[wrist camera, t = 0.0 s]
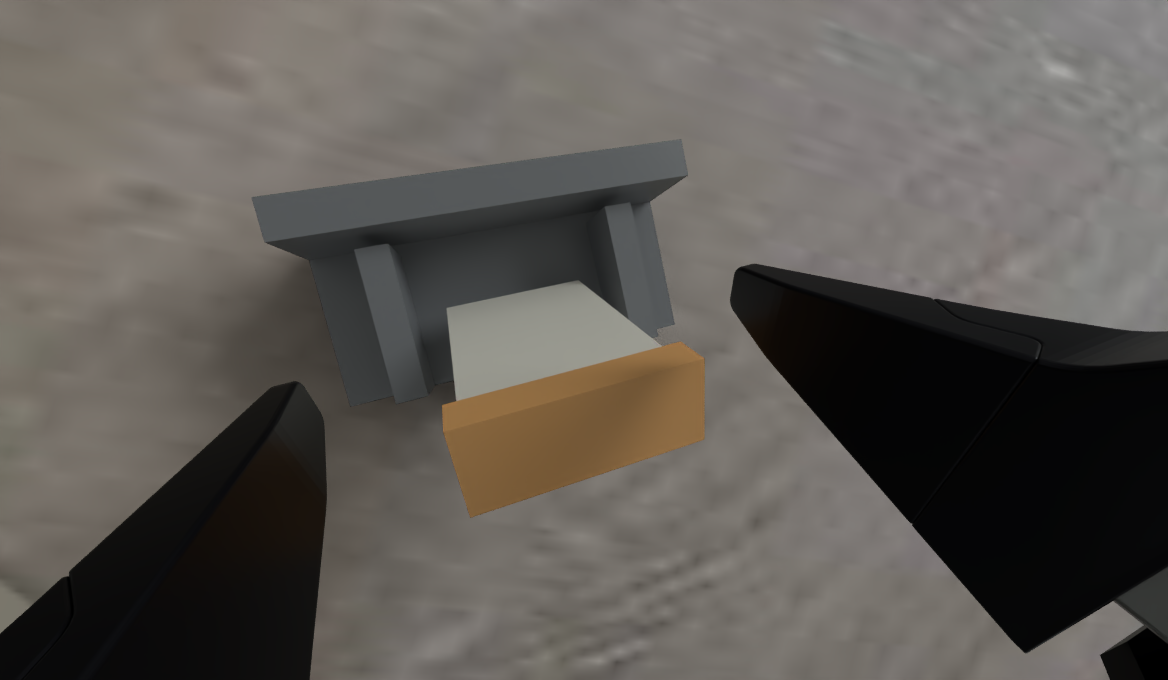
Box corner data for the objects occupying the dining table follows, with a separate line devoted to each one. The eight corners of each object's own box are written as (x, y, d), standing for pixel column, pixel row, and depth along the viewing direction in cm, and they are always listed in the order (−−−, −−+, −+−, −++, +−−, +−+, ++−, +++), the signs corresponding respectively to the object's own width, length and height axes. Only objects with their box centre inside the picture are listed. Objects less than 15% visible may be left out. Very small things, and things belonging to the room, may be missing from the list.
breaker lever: (589, 324, 21) (704, 439, 12) (452, 357, 19) (470, 517, 10) (583, 272, 20) (704, 358, 11) (437, 302, 18) (443, 432, 9)
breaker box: (651, 324, 25) (717, 324, 19) (366, 395, 21) (318, 428, 15) (623, 190, 25) (681, 139, 18) (323, 238, 21) (251, 197, 14)
